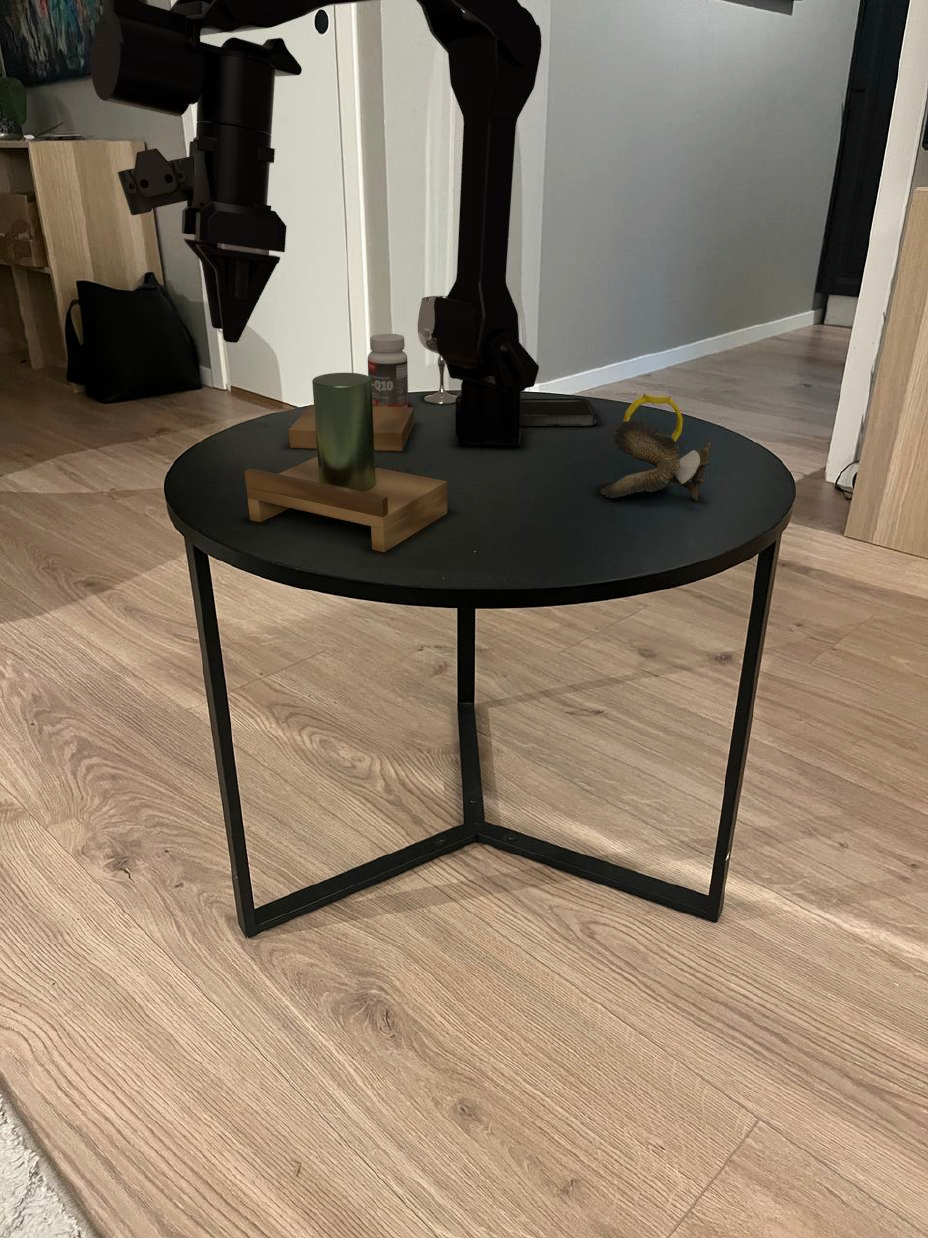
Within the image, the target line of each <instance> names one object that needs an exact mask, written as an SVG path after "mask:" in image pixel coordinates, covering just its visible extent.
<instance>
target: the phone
mask: <svg viewBox="0 0 928 1238" xmlns="http://www.w3.org/2000/svg"><path fill="white" fill-rule="evenodd" d="M597 419H598V412H597V410H596V409H595V407H594V405H593V404H592V402H591V400H590V399H587V398H575V397H574V398H521V409H520V427H524V426H525V427H531V426H533V427H535V426H536V427H538V426H539V427H543V426H544V427H546V426H547V427H553V426H556V427H557V426H560V427H561V426H594V425H596V424H597Z"/></svg>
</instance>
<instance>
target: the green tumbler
mask: <svg viewBox="0 0 928 1238" xmlns="http://www.w3.org/2000/svg"><path fill="white" fill-rule="evenodd" d="M311 384H312V396H313V405H314V413H315V427H316V441H317V449H316V454H317V456H316V457H318V470H319V483H324V484H329V485H334V486H338V487H343V488H348V489H353V490H357V491H366V490H369V489H371V488H372V487H374V486H375V483H376V477H375V467H376V458H375V457H376V455H375V450H374V429H373V405H372V381H371V378H370V377H369V376H368V374H367V375H366V374H363V373H358V372H332V373H325V374H320V375H318V376H315V377H313V379H312V381H311Z"/></svg>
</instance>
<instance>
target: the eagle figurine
mask: <svg viewBox="0 0 928 1238" xmlns="http://www.w3.org/2000/svg"><path fill="white" fill-rule="evenodd" d="M623 421H624V420H623ZM623 421H622V423H620V424H619V425H618V427H616V428H615V430H614V431H615V432H614V433H613V434H612V438H613V439H614V440H613V441H614V443H615V444H616V445H617V448H618V449H619V450H620V451H622V452H624V453H626V454H628V455H630V456H631V457H633V458H635V459H637V460H638V461H641V462H644V463H648V464H650V465H652V466H654V467H655V468H653V469H648V470H644V471H638V472H634V473H630V474H627V475H624V476H623V477H622V478H620V479H619V480H618V481H616V482H613V483H611V484H608V485H606V487H602V488H601V490H599V492H600V493H601V495H603V496H605V497H606V498H608V497H609V498H610V499H614V498H621V497H626V496H627V495H633V494H635V493H640V492H645V491H646V492H650V493H653V492H657V491H660V490H664V488H666V487H667V484H668V483H675V484H677V485H679V486H682V487H683V488H686V489H687V490H688V491H689V492H690V494H691V498H692V499H693V500H694V501H695V502H697V501H698V500H699V488H700V485H701V484H704V483H705V480H704V478H703V475H704V472H705V469H706V466H708V465H710V464H711V461H708V459H709V455H710V451H711V447H712V441H708V442H707V443H706V446H705V447H704V448H703V447H700V448H699V450H698V451H697V450H695V449H693V450H691V451H689V452H688V453H687V454H685V455H683V456H681V457H680V453H681V450H680V449H681V448H680V446H679V445H678V443H677V441H676V442H675V441H674V439H672V437H671V435H669V434H668V435H667V434H664V433H661V432H659V430H658V429H656V428H653V427H652V426H651V425H649V424H648V422H647V421H646V420H642V419H639V420H638V419H632V420H631V419H630V420H629V421H624V422H623ZM690 479H691V482H690V481H689V480H690Z"/></svg>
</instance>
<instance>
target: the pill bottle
mask: <svg viewBox="0 0 928 1238" xmlns="http://www.w3.org/2000/svg"><path fill="white" fill-rule="evenodd" d="M405 343H406V342H405V336H404V335H402V334H398V333H379V334H374V335H371V336H370V337H369V345H370V347H369V348H370V350H371V351H370V352H369V353H368V356H367V376H369V377H370V378H371V381H372V405H373V406H377V407H409V378H408V376H409V375H408V374H409V373H408V371H409V370H408V369H409V368H408V354H407V353H406V352H405V351H404V350H405V347H406V344H405Z"/></svg>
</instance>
